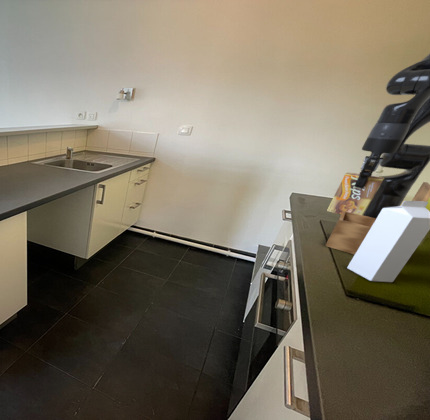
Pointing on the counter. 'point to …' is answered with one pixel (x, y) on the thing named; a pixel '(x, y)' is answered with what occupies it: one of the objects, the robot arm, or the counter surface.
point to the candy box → (354, 195)
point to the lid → (423, 193)
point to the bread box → (349, 232)
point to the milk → (391, 241)
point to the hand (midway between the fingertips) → (358, 185)
